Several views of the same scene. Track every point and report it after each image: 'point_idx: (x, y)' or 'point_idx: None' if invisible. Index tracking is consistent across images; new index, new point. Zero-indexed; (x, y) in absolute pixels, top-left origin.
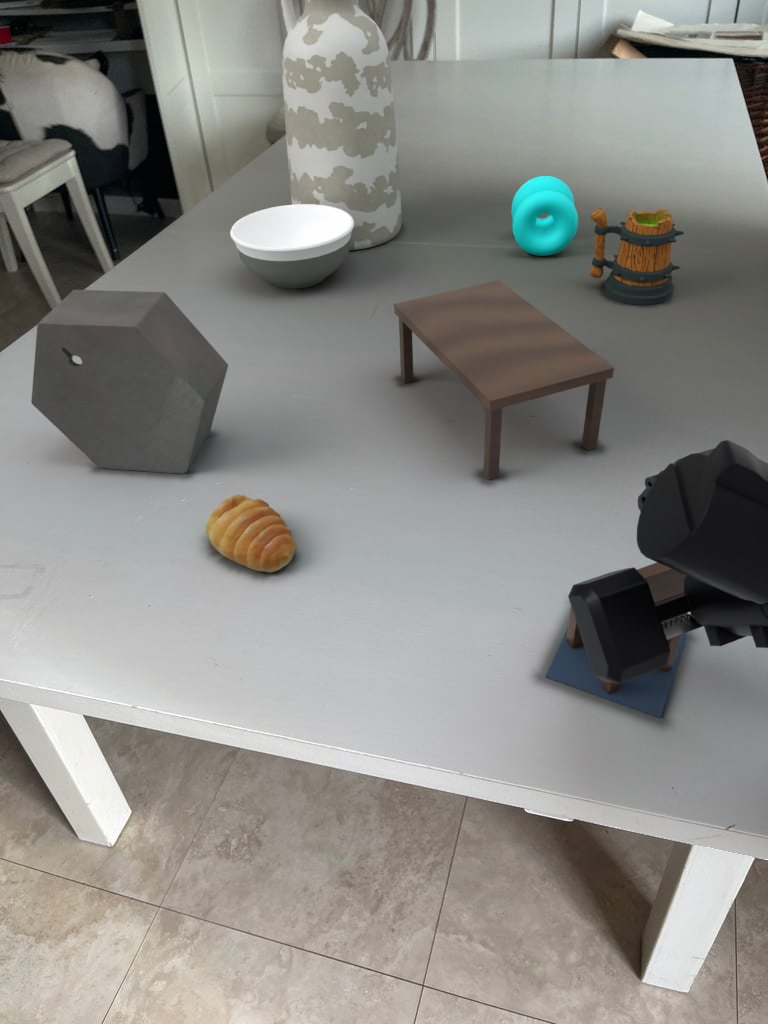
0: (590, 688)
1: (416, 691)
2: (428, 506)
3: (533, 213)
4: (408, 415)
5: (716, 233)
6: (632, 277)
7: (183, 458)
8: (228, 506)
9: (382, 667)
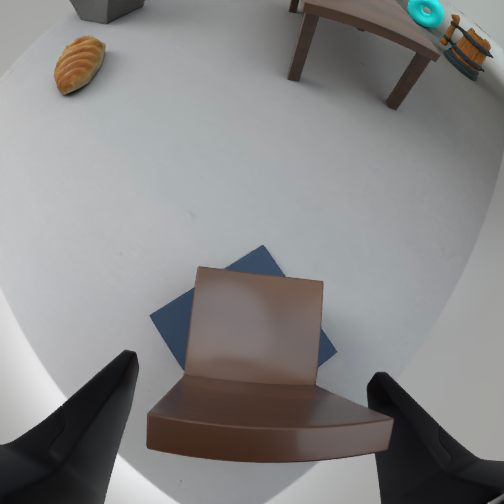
0: (181, 359)
1: (45, 253)
2: (216, 76)
3: (421, 2)
4: (271, 23)
5: (496, 80)
6: (461, 55)
7: (104, 14)
8: (74, 43)
9: (44, 212)
